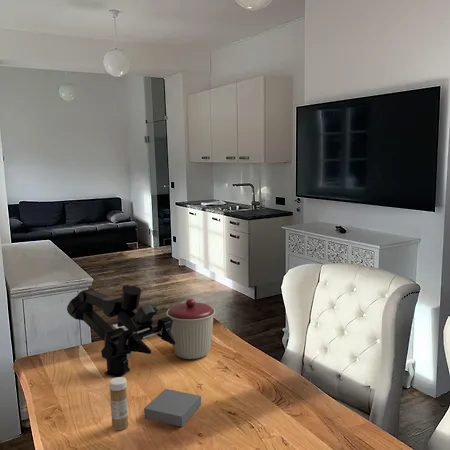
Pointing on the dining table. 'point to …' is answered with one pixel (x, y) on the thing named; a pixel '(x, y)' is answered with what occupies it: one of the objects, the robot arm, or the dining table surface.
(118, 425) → the sprinkles bottle
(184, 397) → the podium
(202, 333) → the canister
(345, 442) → the dining table surface
